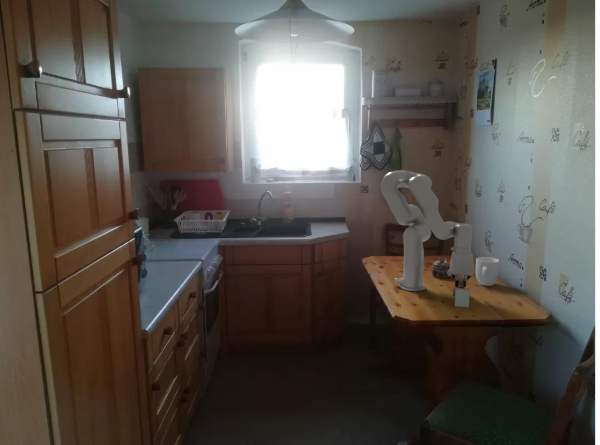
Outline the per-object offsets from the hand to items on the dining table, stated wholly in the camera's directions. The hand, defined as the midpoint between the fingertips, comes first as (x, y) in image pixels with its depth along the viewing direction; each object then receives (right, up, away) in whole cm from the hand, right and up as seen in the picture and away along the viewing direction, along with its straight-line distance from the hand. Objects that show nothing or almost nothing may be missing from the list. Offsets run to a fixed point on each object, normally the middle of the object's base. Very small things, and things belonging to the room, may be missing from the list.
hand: (460, 288), depth 222 cm
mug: (+19, -1, +19) cm, 27 cm away
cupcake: (+1, +1, +34) cm, 34 cm away
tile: (-3, -7, -12) cm, 14 cm away
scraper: (0, -1, 0) cm, 1 cm away
